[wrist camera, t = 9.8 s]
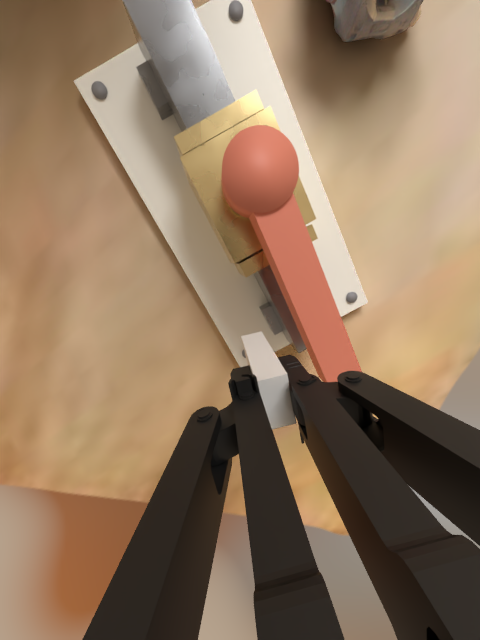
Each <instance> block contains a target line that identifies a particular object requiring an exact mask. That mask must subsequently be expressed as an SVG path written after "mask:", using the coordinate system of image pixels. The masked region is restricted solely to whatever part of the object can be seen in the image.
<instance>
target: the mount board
mask: <svg viewBox="0 0 480 640" xmlns="http://www.w3.org/2000/svg"><path fill="white" fill-rule="evenodd" d="M195 10H196V12H197V15H198V17H199V19H200V21H201V24H202V26H203V28H204V29H205V31H206V34H207V36H208V38H209V41H210V43H211V45H212V47H213V50H214V52H215V54H216V57H217V59H218V61H219V63H220V66H221V68H222V70H223V74H224V76H225V78H226V81H227V83H228V85H229V88H230V90H231V92H232V94H233V97H234V99H235V101H237V100H239V99H240V98H242V97H244V96H246V95H247V94H249V93H251V92H253V91H254V90H257V93H258V95H259V98H260V100H261V102H262V105H263V107H264V109H266V108H267V107H269V106H271V109H272V111H273V113H274V116H275V118H276V121H277V123H278V126H279V128H280V131H281V132H282V133H283V134H284V135H285V136H286V137H287V138H288V139H289V140H290V142H291V143H292V145H293V147H294V149H295V151H296V154H297V157H298V162H299V177H300V180H301V182H302V185H303V187H304V190H305V192H306V194H307V197H308V199H309V202H310V204H311V207H312V209H313V212H314V214H315V217H316V219H315V220H313V221H312V222H310V223H308V224H306V226H308V225H311V224H312V225H313V228H314V230H315V233H316V235H317V237H318V239H316V240H314V241H312V243H313V246H314V249H315V251H316V254H317V256H318V259H319V262H320V264H321V267H322V269H323V272H324V275H325V277H326V280H327V282H328V285H329V288H330V290H331V293H332V295H333V298H334V301H335V303H336V306H337V308H338V311H339V314H340V316H341V317H342V316H344V315H346V314H347V313H349V312H351V311H353V310H355V309H357V308H359V307H361V306H362V305H364V304H366V303H368V301H367V299H366V296H365V293H364V291H363V288H362V286H361V283H360V280H359V278H358V275H357V273H356V270H355V268H354V265H353V262H352V260H351V257H350V255H349V252H348V249H347V247H346V244H345V242H344V239H343V237H342V234H341V231H340V229H339V226H338V224H337V221H336V218H335V216H334V213H333V211H332V208H331V206H330V203H329V200H328V198H327V195H326V193H325V190H324V187H323V185H322V182H321V180H320V177H319V175H318V172H317V169H316V167H315V164H314V162H313V159H312V156H311V154H310V151H309V149H308V146H307V144H306V141H305V138H304V136H303V133H302V131H301V128H300V126H299V123H298V120H297V118H296V115H295V113H294V110H293V107H292V105H291V102H290V100H289V97H288V95H287V92H286V89H285V87H284V84H283V82H282V79H281V76H280V74H279V71H278V69H277V66H276V64H275V61H274V58H273V56H272V53H271V51H270V48H269V45H268V43H267V40H266V38H265V35H264V33H263V30H262V27H261V25H260V22H259V20H258V17H257V14H256V12H255V9H254V7H253V4H252V2H251V0H210V1H208V2H207V3H205V4H203V5H202V6H200V7H198V8H196V9H195ZM144 62H146V60H145V58H144V56H143V54H142V52H141V50H140V48H139V45H138V43H137V44H135V45H134V46H132V47H130V48H128V49H127V50H125V51H123V52H122V53H120V54H118V55H117V56H115V57H113V58H111V59H110V60H108V61H106V62H105V63H103V64H101V65H100V66H98V67H96V68H94V69H93V70H91V71H89V72H88V73H86V74H84V75H82V76H81V77H79V78H77V79H76V80H74V83H75V84H76V86H77V88H78V90H79V91H80V93H81V95H82V96H83V98H84V100H85V102H86V103H87V105H88V107H89V108H90V110H91V112H92V114H93V115H94V117H95V119H96V120H97V122H98V124H99V126H100V127H101V129H102V131H103V132H104V134H105V136H106V138H107V139H108V141H109V143H110V144H111V146H112V148H113V150H114V151H115V153H116V155H117V156H118V158H119V160H120V162H121V163H122V165H123V167H124V168H125V170H126V172H127V174H128V175H129V177H130V179H131V181H132V182H133V184H134V186H135V187H136V189H137V191H138V193H139V194H140V196H141V198H142V199H143V201H144V203H145V205H146V206H147V208H148V210H149V211H150V213H151V215H152V217H153V218H154V220H155V222H156V223H157V225H158V227H159V229H160V230H161V232H162V234H163V235H164V237H165V239H166V241H167V242H168V244H169V246H170V247H171V249H172V251H173V253H174V254H175V256H176V258H177V259H178V261H179V263H180V265H181V266H182V268H183V270H184V272H185V273H186V275H187V277H188V278H189V280H190V282H191V284H192V285H193V287H194V289H195V290H196V292H197V294H198V296H199V297H200V299H201V301H202V302H203V304H204V306H205V308H206V309H207V311H208V313H209V314H210V316H211V318H212V320H213V321H214V323H215V325H216V326H217V328H218V330H219V332H220V333H221V335H222V337H223V338H224V340H225V342H226V344H227V345H228V347H229V349H230V350H231V352H232V354H233V356H234V357H235V359H236V361H237V363H238V364H239V366H240V367H244V366H248V364H247V360H246V355H245V351H244V347H243V342H242V338H241V336H244V335H248V334H252V333H257V332H261V331H262V333H263V335H264V336H265V338H266V340H267V341H268V343H269V345H270V346H271V348H272V349H273V351H274V352H276V351H278V350H280V349H282V348H284V347H285V346H287V345H289V344H290V343H289V342H288V340H287V339H286V337H285V335H284V333H283V331H282V332H280V333H278V334H276V335H274V334H273V332H272V331H271V329H270V327H269V325H268V324H267V322H266V320H265V318H264V316H263V314H262V312H261V310H260V308H259V307H260V306H262V305H264V304H265V303H267V302H268V301H267V300H266V298H265V296H264V294H263V292H262V290H261V288H260V286H259V284H258V282H257V280H256V278H255V276H254V274H252V275H250V276H248V277H244V276H243V275H241V274H239V272H238V270H237V268H236V266H235V264H234V263H230V261H229V259H228V257H227V255H226V253H225V251H224V250H223V248H222V246H221V244H220V242H219V240H218V238H217V236H216V234H215V232H214V231H213V229H212V227H211V225H210V223H209V221H208V219H207V217H206V215H205V213H204V211H203V210H202V208H201V206H200V204H199V202H198V200H197V198H196V196H195V194H194V192H193V191H192V189H191V187H190V185H189V182H188V179H187V176H186V173H185V171H184V168H183V165H182V162H181V160H180V154H179V151H178V148H177V145H176V142H175V139H174V136H176V135H177V134H179V133H181V132H182V131H181V129H180V127H179V125H178V123H177V121H176V119H175V117H174V115H171V116H169V117H167V118H166V119H164V120H162V119H161V117H160V115H159V113H158V111H157V110H156V108H155V106H154V104H153V102H152V100H151V98H150V96H149V94H148V92H147V90H146V88H145V86H144V84H143V82H142V80H141V78H140V75H139V73H138V70H137V68H136V67H137V66H139V65H141V64H142V63H144Z"/></svg>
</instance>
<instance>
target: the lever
mask: <svg viewBox="0 0 480 640" xmlns="http://www.w3.org/2000/svg"><path fill="white" fill-rule="evenodd" d="M298 176H299V162H298V157H297V154H296V151H295V149H294V147H293V145H292V143H291V142H290V140H289V139H288V138H287V137H286V136H285V135H284V134H283V133H282V132H280V131H279V130H277V129H275V128H273V127H270V126H265V125H255V126H251V127H248V128H245V129H243V130H242V131H240V132H239V133H238V134H236V135H235V136H234V137H233V139H232V140H231V141H230V143H229V144H228V146H227V148H226V150H225V153H224V157H223V162H222V176H221V186H222V191H223V195H224V198H225V200H226V202H227V203H228V205H229V206H230V207H231V208H232V209H233V210H234V211H235V212H236V213H238V214H239V215H241V216H243V217H246V218H249V219H250V221H251V224H252V226H253V228H254V230H255V233H256V235H257V237H258V239H259V242H260V244H261V246H262V249H263V251H264V253H265V255H266V258H267V260H268V262H269V264H270V267H271V269H272V271H273V273H274V276H275V278H276V280H277V283H278V285H279V287H280V289H281V292H282V294H283V296H284V298H285V301H286V303H287V305H288V307H289V310H290V312H291V314H292V316H293V319H294V321H295V323H296V326H297V328H298V330H299V332H300V335H301V337H302V339H303V341H304V344H305V346H306V348H307V350H308V353H309V355H310V357H311V360H312V362H313V364H314V366H315V369H316V371H317V373H318V375H319V377H320V378H321V379H322V381H323V382H338V380H337V377H338V375H339V374H341V373H342V372H346V371H360V372H362V371H361V368H360V366H359V363H358V360H357V358H356V355H355V353H354V350H353V347H352V345H351V342H350V340H349V337H348V334H347V332H346V329H345V327H344V324H343V321H342V319H341V316H340V314H339V311H338V308H337V306H336V303H335V301H334V298H333V295H332V293H331V290H330V288H329V285H328V282H327V280H326V277H325V275H324V272H323V269H322V267H321V264H320V262H319V259H318V256H317V254H316V251H315V249H314V246H313V243H312V241H311V238H310V236H309V233H308V230H307V228H306V225H305V223H304V220H303V217H302V215H301V212H300V210H299V207H298V204H297V202H296V199H295V197H294V194H293V191H294V189H295V187H296V184H297V181H298Z"/></svg>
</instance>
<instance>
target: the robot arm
mask: <svg viewBox="0 0 480 640" xmlns="http://www.w3.org/2000/svg"><path fill="white" fill-rule="evenodd" d="M241 338H242V342H243V347H244V351H245V355H246V360H247V364H248V366H244V367H240V368H236V369H233V370H232V372H231V379H230V381H229V388H230V392H231V396H232V400H233V401H232V402H231V404H230V405H229V406H227V407H226V408H224V409H222V410H220V411H218V409H217V408H215V407H203V408H201V409H199V410H197V411H196V412H194V413H193V414H192V416H191V417H190V419H189V421H188V423H187V425H186V427H185V429H184V431H183V433H182V435H181V438H180V440H179V442H178V444H177V446H176V448H175V450H174V452H173V454H172V456H171V458H170V460H169V462H168V464H167V466H166V468H165V471H164V473H163V475H162V477H161V479H160V481H159V483H158V485H157V487H156V489H155V491H154V493H153V495H152V497H151V499H150V502H149V504H148V506H147V508H146V510H145V512H144V514H143V516H142V518H141V520H140V522H139V524H138V526H137V528H136V530H135V532H134V535H133V537H132V539H131V541H130V543H129V545H128V547H127V549H126V551H125V553H124V555H123V557H122V559H121V561H120V563H119V566H118V568H117V570H116V572H115V574H114V576H113V578H112V580H111V582H110V584H109V586H108V588H107V590H106V592H105V594H104V597H103V598H102V601H101V603H100V605H99V607H98V609H97V611H96V613H95V615H94V617H93V619H92V621H91V624H90V626H89V627H88V629H87V632H86V634H85V636H84V638H83V640H198V635H199V630H200V625H201V620H202V615H203V610H204V604H205V599H206V594H207V589H208V584H209V579H210V574H211V568H212V563H213V558H214V553H215V548H216V543H217V538H218V532H219V527H220V522H221V517H222V512H223V507H224V502H225V497H226V492H227V486H228V481H229V476H230V471H231V466H232V457H234V456H236V455H237V454H239V458H240V466H241V474H242V482H243V491H244V499H245V507H246V515H247V522H248V532H249V540H250V547H251V556H252V563H253V572H254V580H255V591H254V609H255V619H256V628H257V637H258V640H344V637H343V634H342V631H341V628H340V625H339V622H338V619H337V616H336V613H335V610H334V607H333V604H332V601H331V599H330V595H329V593H328V590H327V587H326V584H325V581H324V579H323V577H322V575H321V573H320V572H319V570H318V568H317V565H316V562H315V559H314V556H313V553H312V550H311V547H310V544H309V541H308V538H307V534H306V531H305V529H304V525H303V522H302V519H301V516H300V513H299V510H298V507H297V504H296V501H295V498H294V495H293V492H292V489H291V486H290V483H289V480H288V477H287V474H286V471H285V468H284V465H283V462H282V458H281V455H280V452H279V449H278V446H277V443H276V440H275V437H274V434H273V431H272V429H276V428H280V427H284V426H288V425H291V424H295V423H296V419H295V416H296V418H297V420H298V425H299V430H300V436H301V441H302V444H303V443H304V441H305V443H306V445H307V447H308V449H309V451H310V453H311V456H312V458H313V460H314V462H315V464H316V466H317V468H318V470H319V472H320V474H321V477H322V479H323V481H324V483H325V485H326V487H327V489H328V491H329V493H330V495H331V497H332V500H333V502H334V504H335V506H336V508H337V510H338V512H339V514H340V516H341V518H342V521H343V523H344V525H345V527H346V529H347V531H348V533H349V535H350V537H351V539H352V542H353V544H354V546H355V548H356V550H357V552H358V554H359V556H360V558H361V560H362V562H363V564H364V567H365V569H366V571H367V573H368V575H369V577H370V579H371V581H372V584H373V586H374V588H375V590H376V592H377V594H378V596H379V598H380V600H381V602H382V604H383V607H384V609H385V611H386V613H387V615H388V617H389V619H390V621H391V624H392V626H393V628H394V631H395V634H396V636H397V639H398V640H480V549H479V548H478V547H477V546H476V545H475V544H474V543H473V542H472V541H470V540H469V539H467V538H466V537H464V536H462V535H452V534H450V533H449V532H448V531H446V529H444V528H443V526H442V525H441V524H440V523H439V522H438V521H437V519H436V518H435V517H434V516H433V515H432V513H431V512H430V511H429V510H428V509H427V508H426V506H425V505H424V504H423V503H422V501H421V500H420V499H419V498H418V497H417V495H416V494H415V493H414V492H413V491H412V489H414V490H415V491H416V492H417V493H418V494H419V495H421V496H422V497H423V498H424V499H425V500H426V501H428V502H429V503H430V504H431V505H432V506H433V507H435V508H436V509H437V510H438V511H439V512H440V513H442V514H443V515H444V516H445V517H446V518H448V519H449V520H450V521H451V522H452V523H453V524H455V525H456V526H457V527H458V528H459V529H461V530H462V531H463V532H464V533H465V534H466V535H468V536H469V537H470V538H471V539H472V540H473V541H475V542H476V543H477V544H478V545H479V546H480V430H478V429H476V428H474V427H472V426H470V425H468V424H466V423H464V422H462V421H460V420H458V419H456V418H454V417H452V416H450V415H448V414H446V413H444V412H442V411H440V410H438V409H436V408H434V407H432V406H430V405H428V404H426V403H424V402H422V401H420V400H418V399H416V398H414V397H412V396H410V395H408V394H406V393H403V392H401V391H399V390H397V389H395V388H393V387H391V386H389V385H387V384H385V383H383V382H381V381H379V380H377V379H375V378H373V377H371V376H369V375H367V374H365V373H362V372H360V371H346V372H342V373H341V374H339V375H338V377H337V380H338V382H321V380H320V379H319V378H318V377H317V376H315V375H312V374H309V373H308V372H307V371H306V370H305V368H304V367H303V366H302V365H301V363H300V362H299V361H298V359H297V358H296V357H294V356H292V355H287V356H282V357H278V358H277V356H276V354H275V353H274V351H273V349H272V348H271V346H270V345H269V343H268V341H267V340H266V338H265V336H264V335H263V333H262V331H261V332H257V333H252V334H248V335H244V336H241ZM372 413H373V414H374V415H376V416H377V417H378V418H379V419H376V418H375V417H373V415H372ZM407 484H408V485H409V486H410V487H411V488H412V489H411V488H410V487H409V486H408V485H407Z"/></svg>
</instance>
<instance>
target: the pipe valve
mask: <svg viewBox="0 0 480 640" xmlns="http://www.w3.org/2000/svg"><path fill="white" fill-rule="evenodd" d="M122 1H123V3H124V6H125V9H126V12H127V14H128V17H129V20H130V23H131V25H132V28H133V31H134V34H135V36H136V39H137V42H138V45H139V48H140V50H141V52H142V54H143V56H144V58H145V60H146V62H144V63H142V64H141V65H139V66H137V67H136V68H137V70H138V73H139V75H140V78H141V80H142V82H143V84H144V86H145V88H146V90H147V92H148V94H149V96H150V98H151V100H152V102H153V104H154V106H155V108H156V110H157V111H158V113H159V115H160V117H161V119H162V120H164V119H166V118H167V117H169V116H171V115H174V117H175V119H176V121H177V123H178V125H179V127H180V129H181V131H182V132H181V133H179V134H177V135H176V136H174V139H175V142H176V145H177V148H178V151H179V154H180V160H181V162H182V165H183V168H184V171H185V173H186V176H187V179H188V182H189V185H190V187H191V189H192V191H193V192H194V194H195V196H196V198H197V200H198V202H199V204H200V206H201V208H202V210H203V211H204V213H205V215H206V217H207V219H208V221H209V223H210V225H211V227H212V229H213V231H214V232H215V234H216V236H217V238H218V240H219V242H220V244H221V246H222V248H223V250H224V251H225V253H226V255H227V257H228V259H229V261H230V263H234V264H235V266H236V268H237V270H238V272H239V274H241V275H243V276H244V277H248V276H250V275H252V274H254V276H255V278H256V280H257V282H258V284H259V286H260V288H261V290H262V292H263V294H264V296H265V298H266V300H267V301H268V302H267V303H265V304H264V305H262V306H260V307H259V308H260V310H261V312H262V314H263V316H264V318H265V320H266V322H267V324H268V325H269V327H270V329H271V331H272V332H273V334H274V335H276V334H278V333H280V332H282V331H283V333H284V335H285V337H286V339H287V340H288V342H289V343H290V344H291V345H292V346H293V347H294V348H295V350H296V351H297V352H298V353H300V352H302V351H304V350H306V349H307V348H306V346H305V344H304V341H303V339H302V337H301V335H300V332H299V330H298V328H297V326H296V323H295V321H294V319H293V316H292V314H291V312H290V310H289V307H288V305H287V303H286V301H285V298H284V296H283V294H282V292H281V289H280V287H279V285H278V283H277V280H276V278H275V276H274V273H273V271H272V269H271V267H270V264H269V262H268V260H267V258H266V255H265V253H264V251H263V249H262V246H261V244H260V242H259V239H258V237H257V235H256V233H255V230H254V228H253V226H252V224H251V221H250V219H249V218H246V217H243V216H241V215H239V214H238V213H236V212H235V211H234V210H233V209H232V208H231V207H230V206H229V205H228V203H227V202H226V200H225V198H224V195H223V191H222V186H221V176H222V162H223V157H224V153H225V150H226V148H227V146H228V144H229V143H230V141H231V140H232V139H233V137H234V136H235V135H236V134H238V133H239V132H240V131H242V130H243V129H245V128H248V127H251V126H255V125H265V126H270V127H273V128H275V129H277V130H279V131H280V128H279V126H278V123H277V121H276V118H275V116H274V113H273V111H272V109H271V106H269V107H267V108H266V109H264V107H263V105H262V102H261V100H260V98H259V95H258V93H257V90H254V91H253V92H251V93H249V94H247V95H246V96H244V97H242V98H240V99H239V100H237V101H235V99H234V97H233V94H232V92H231V90H230V88H229V85H228V83H227V81H226V78H225V76H224V74H223V70H222V68H221V66H220V63H219V61H218V59H217V57H216V54H215V52H214V50H213V47H212V45H211V43H210V41H209V38H208V36H207V34H206V31H205V29H204V28H203V26H202V24H201V21H200V19H199V17H198V15H197V12H196V10H195V8H194V6H193V3H192V1H191V0H122ZM280 132H281V131H280ZM293 194H294V197H295V199H296V202H297V204H298V207H299V210H300V212H301V215H302V217H303V220H304V223H305V225H306V224H308V223H310V222H312V221H313V220H315V219H316V217H315V214H314V212H313V209H312V207H311V204H310V202H309V199H308V197H307V194H306V192H305V190H304V187H303V185H302V182H301V180H300V177H299V176H298V181H297V184H296V187H295V189H294V191H293ZM306 228H307V230H308V233H309V236H310V238H311V241H314V240H316V239H318V237H317V235H316V233H315V230H314V228H313V225H312V224H311V225H308V226H306Z"/></svg>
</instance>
